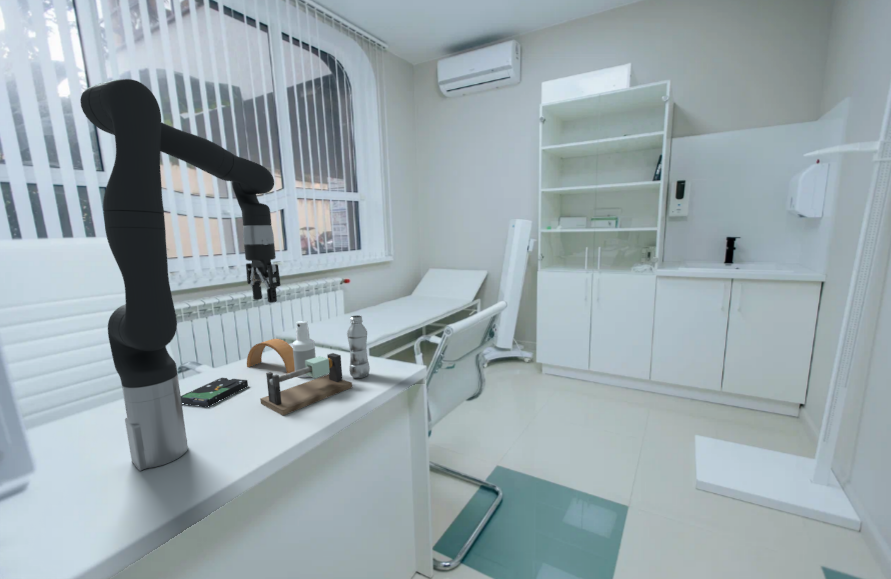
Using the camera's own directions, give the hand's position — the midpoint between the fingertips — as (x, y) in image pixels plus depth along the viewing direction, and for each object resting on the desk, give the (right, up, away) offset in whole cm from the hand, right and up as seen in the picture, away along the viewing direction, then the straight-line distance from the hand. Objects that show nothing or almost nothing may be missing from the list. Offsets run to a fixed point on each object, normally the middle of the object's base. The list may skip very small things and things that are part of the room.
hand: (265, 300), depth 107 cm
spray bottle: (+4, -25, +21) cm, 33 cm away
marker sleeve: (+13, -22, +6) cm, 26 cm away
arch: (-10, -25, +28) cm, 39 cm away
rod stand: (+11, -28, +4) cm, 30 cm away
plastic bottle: (+23, -25, +17) cm, 38 cm away
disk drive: (-18, -29, +6) cm, 34 cm away
